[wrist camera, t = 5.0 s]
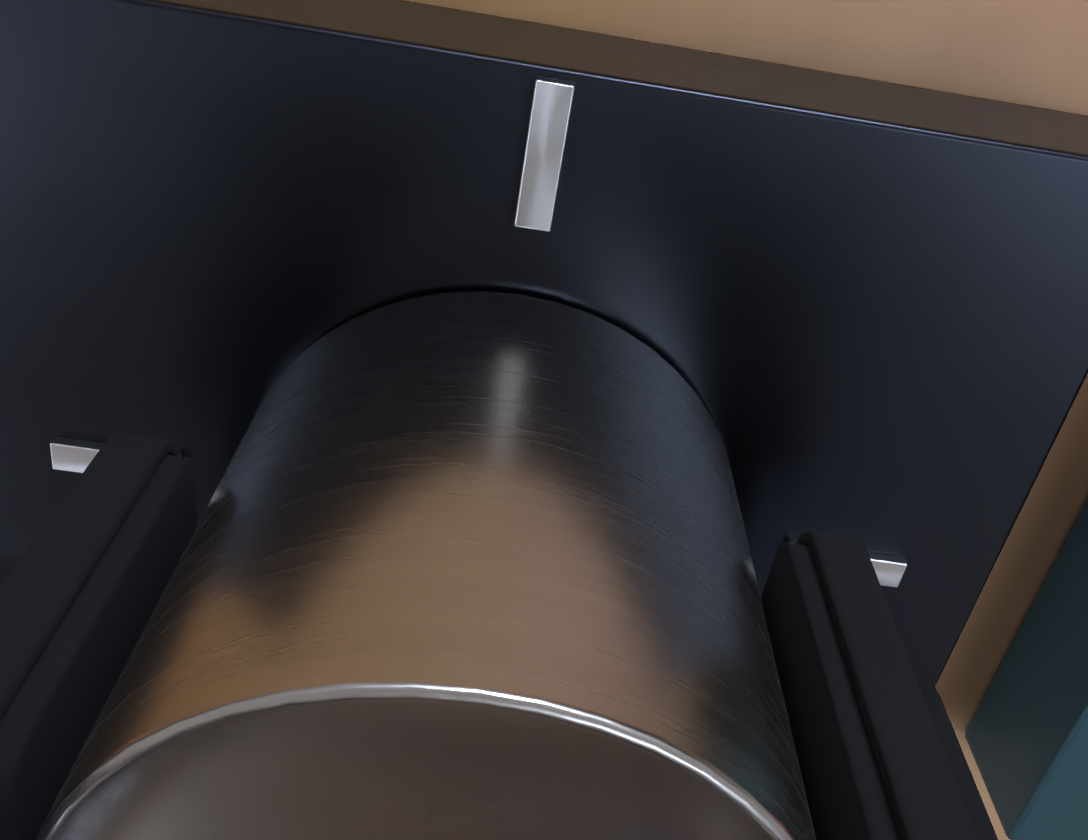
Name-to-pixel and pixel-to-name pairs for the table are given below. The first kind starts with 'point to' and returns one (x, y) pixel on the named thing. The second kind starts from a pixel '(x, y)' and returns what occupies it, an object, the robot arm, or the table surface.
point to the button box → (1042, 709)
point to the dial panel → (544, 251)
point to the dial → (456, 608)
